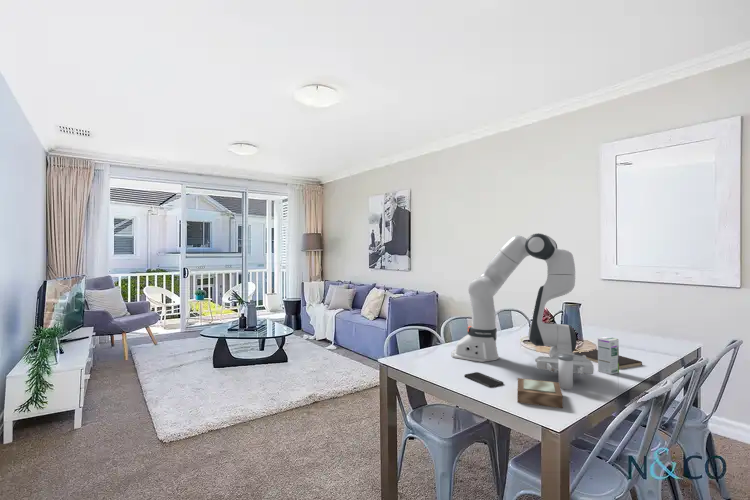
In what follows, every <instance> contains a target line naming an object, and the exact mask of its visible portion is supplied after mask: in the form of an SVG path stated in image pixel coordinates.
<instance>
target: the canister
mask: <svg viewBox="0 0 750 500" xmlns="http://www.w3.org/2000/svg"><path fill="white" fill-rule="evenodd" d="M558 359H559V360H558V371H557V372H558V378H557V380H558V383H559V385H560V388H561V390H565V391H566V390H568V391H570V390H572V391H573V389H574V372H573V356H572V355H568V354H559V355H558Z"/></svg>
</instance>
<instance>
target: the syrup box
mask: <svg viewBox="0 0 750 500" xmlns="http://www.w3.org/2000/svg"><path fill="white" fill-rule="evenodd" d="M619 341H620V340H619V339H618V338H616V337H610V336H603V337H598V338H597V350H598V363H597V372H600V373H602V374H606V375H610V376H611V375H613V374H614V375H615V374H619V373H620V369H619V356H620V352H619V350H620V349H619V348H620V346H619V344H620V342H619Z"/></svg>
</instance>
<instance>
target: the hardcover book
mask: <svg viewBox="0 0 750 500" xmlns="http://www.w3.org/2000/svg"><path fill="white" fill-rule="evenodd" d="M592 350H593V351H589V352H581V353H579V352H580V351H575V352H574V351H573V353H576V354H581V355H585V356H586V359H589V360H590V361H591V362H592V363H593V362H594V363H597V364H598V349H595V350H594V349H592ZM638 366H639V367H640V366H643V361H641V360H637V359H634V358H630V357H627V356H622V355H619V370H620V369H627V368H633V367H638Z"/></svg>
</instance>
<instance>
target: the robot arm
mask: <svg viewBox="0 0 750 500" xmlns="http://www.w3.org/2000/svg"><path fill="white" fill-rule="evenodd" d="M557 244H558V243H556V241H555V240H554V239H553V238H552V237H551V236H549V235H547V234H543V233H533V234H530V236H528V237H527V238H526V237H524V236H522V235H514V236H512V237H511V238H509V240H508V241H506V242H505V243H504V245H502V246H501V248H500V249H499V250H498V251H497V253H496V254H495V255H494V257H493V258H492V259H491V260H490V261H489V263H488V264H487V266H486V268H485V269H484V270H483V272H482V273H481V275H479V276H478V277H476V278H474V279H472V280H471V282H470V283H469V285H468V294H469V301H470V307H471V325H468V326H467V334H466V335H464V336H463V337H461V339H459V340H458V342H457V343H456V345H455V349H453V350H452V351H451V353H450V356H451V357H452V358H453V359H455V358H456V359H461V360H467V361H473V362H480V363H484V362H489V361H491V362H492V361H496V360H499V359H500V356H499V353H498V347H497V335H498V331H497V327H496V309H495V301H494V296H496V294H497V293H498V291H499V290H500V289H501V288H502V286H503V285H504V284H505V283H506V282H507V280H508V278H510V276H511V275H512V274H513V272H514V271H515V270H516V269H517V268H518V266H520V264H521V263H522V262H523V261H524V259H525V258H527V257H529V256H530V257H533V258H535V259H538V260H542V261H545V263H546V265H547V266H546V267H547V270H546V271H547V276H546V280H545V283H544V284H543V285H541V286H540V287H539V289H538V291H537V294H536V295H537V297H536V299H535V305H534V309H533V314H532V320H531V324H530V326H529V329H528V340H529V342H531V344H533V345H534V346H536V347H545V346H546V347H550V348H549V352H548V354H549V356H544V355H543V356H541V355H540V356H537V358H535V362H536V368H537V369H538V370H544V371H545V370H546V371H550V372H553V373H554V372H555V371H556V372H558V360H559V359H558V355H559V354H568V355H572V356H573V374H574V373H576V374H577V375H583V374H584V375H585V374H586V375H593V374H594V371H595V370H594V364H593V361H590V360H589V359H586V356H585V355H581V354H576V353H574V351H575V350H576V348H577V335H576V332H575V329H573V327H572V326H571V325H569V324H561V323H546V322H543V317H544V311H545V307H546V304H547V303H548V302H549V301H551V300H554V299H556V298H560V297H563V296H566V295H567V294H569V293H570V292H572V291H573V290H574V288H575V286H576V267H575V266H576V265H575V260H574V259H575V258H574V255H573V254H572V252H570V251H569V250H566V249H559V248H558V245H557Z"/></svg>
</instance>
